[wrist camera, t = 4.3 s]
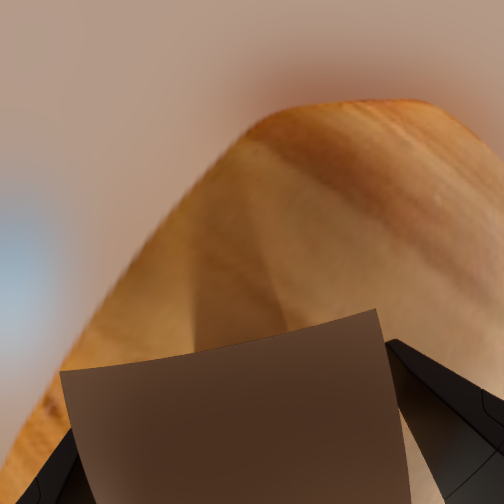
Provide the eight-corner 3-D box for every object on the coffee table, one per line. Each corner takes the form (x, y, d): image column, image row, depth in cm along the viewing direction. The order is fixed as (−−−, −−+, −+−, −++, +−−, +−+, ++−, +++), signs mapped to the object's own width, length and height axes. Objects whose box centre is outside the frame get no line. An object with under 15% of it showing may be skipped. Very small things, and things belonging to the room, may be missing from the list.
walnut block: (311, 428, 14) (414, 557, 3) (216, 448, 14) (147, 601, 3) (290, 337, 16) (375, 307, 4) (194, 358, 16) (58, 371, 4)
